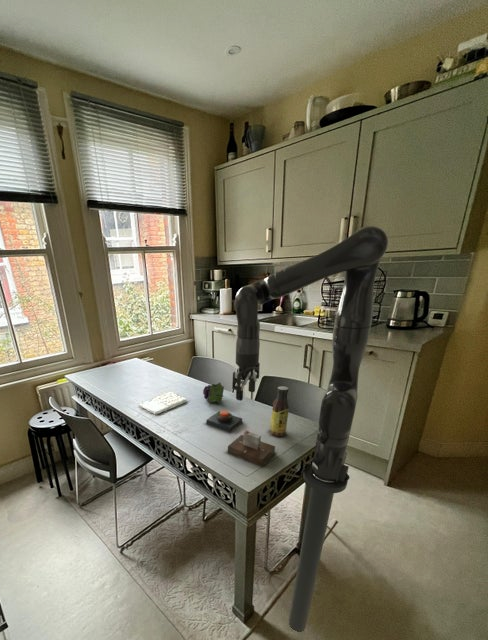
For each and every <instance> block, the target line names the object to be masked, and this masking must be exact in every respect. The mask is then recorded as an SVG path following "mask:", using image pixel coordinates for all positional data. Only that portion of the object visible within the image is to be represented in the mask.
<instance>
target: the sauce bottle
mask: <svg viewBox="0 0 488 640" xmlns="http://www.w3.org/2000/svg"><path fill="white" fill-rule="evenodd" d="M276 391H277V393H276V399H275V400H274V401H273V403H272V409H271V417H270V425H269V432H270V434H271V435H273V436H275V437H282V436H284V435H285V434H286V431H287V425H288V418H289V410H290V406H289V401H288V394H289V387H287V386H285V385H282V386H277V390H276Z"/></svg>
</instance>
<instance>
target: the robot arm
mask: <svg viewBox="0 0 488 640" xmlns="http://www.w3.org/2000/svg"><path fill="white" fill-rule="evenodd" d="M388 245H389V238H388V235H387V233H386V231H384V230H383V229H382V228H380V227H379V226H376V225H367V226H363V227H360V228H359V229H357V230H355V231H354V232H353V233H352V234H351V235H350V236H348V237H346V238H345V239H344V240H341V241H340V242H338V243H337V244H336V245H334V246H332V247H330V248H329V249H327V250H324V251H322V252H320V253H318V254H316V255H314V256H312V257H309V258H306V259H303V260H301V261H299V262H296V263H294V264H291V265H288V266H287V267H284V268H282V269H280V270H278V271H276V272H273V273H272V274H270V275H268V276H267V277H265V278H263V279H259V280H257V281H255V282H252V283H249V284H248V285H244V286H242V287H241V288H240V289H238V291H237V292H236V295H235V300H234V307H235V316H236V320H237V321H236V322H237V326H236V340H235V365H236V366H238V371H233V372H232V381H231V382H232V384H231V385H232V386H231V389H232V390H234V391H235V400H237V401H239V402H242V401H243V400H244V388H245V386H246V385H247V383H248V390H247V391H248V392H249V393H255V391H256V382H257V380H258V379H259V378H260V366H261V365H260V347H261V346H260V345H261V343H260V334H261V333H260V332H261V331H260V330H261V321H260V319H259V318H258V317H259V306H261V305H263V304H265V303H268V302H270V301H272V300H276V299H280V298H282V297H285V296H288V295H290V294H293V293H295V292H297V291H299V290H301V289H304V288H306V287H308V286H311V285H312V284H314V283H317V282H319V281H321V280H324V279H326V278H328V277H331V276H334V275H336V274H340V273H343V272H344V280H343V281H344V282H343V287H342V292H341V295H340V299H339V302H338V306H337V310H336V314H335V318H334V325H333V331H332V340H331V341H332V342H331V350H332V351H331V353H332V368H331V374H330V378H329V380H328V381H329V382H328V385H327V388H326V390H325V392H324V394H323V397H322V399H321V405H320V412H319V417H318V429H317V433H316V434H317V435H316V440H315V446H314V452H313V458H312V463H313V464H312V469H311V474H312V476H313V477H314V478H315V479H316V480H318V481H320V482H323V483H328V484H336V485H337V484H338V482H339V481H341V482H343V481H347V480H348V481H349V480H350V475H349V473H348V472H349V469H350V466H349V465H345V463H346V459H347V455H348V452H347V448H348V443H349V440H350V435H351V430H352V427H353V422H354V417H355V412H356V407H357V403H358V402H357V401H358V394H359V393H358V387H359V386H358V383H359V373H360V368H361V364H362V362H363V359H364V356H365V353H366V350H367V346H368V343H369V339H370V334H371V329H372V323H373V322H372V321H373V313H374V286H375V282H376V277H377V272H378V269H379V266H380V262H381V259H382V258H383V256H384V255H385V254H386V252H387V249H388ZM345 477H346V478H345Z"/></svg>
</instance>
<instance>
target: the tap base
mask: <svg viewBox="0 0 488 640" xmlns="http://www.w3.org/2000/svg"><path fill="white" fill-rule="evenodd" d="M275 450H276V446H275V445H273V444H270V443H267V442H264V441H261V442H260V448H259V449H258V450H256V449H254V448H251V447H248V446H246V445H243V434H240V435H239V436H238V437H237V438H235V440H233V441H232V442H231V443H230V444H228V446H227V453H228V454H230V455H233V456H235V457H237V458H239V459H243V460H245V461H247V462H250V463H251V464H254V465H256V466H257V465H258V466H260V467H263V466H264V465H265V464H266V463H267V462H268V461H269V460H270V458H272V457H273V455H274V454H275V452H276V451H275Z"/></svg>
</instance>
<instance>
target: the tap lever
mask: <svg viewBox="0 0 488 640" xmlns="http://www.w3.org/2000/svg"><path fill="white" fill-rule="evenodd" d="M242 435H243V445H246V446H248V447H251V448H254V449H256V450H258V449H259V448H260V442H262V441H261V440H262V439H261V438H262V436H261V434H260V435H259V434H257V433H254V432H251V431H249V430H245V431H244V432H243V434H242Z"/></svg>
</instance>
